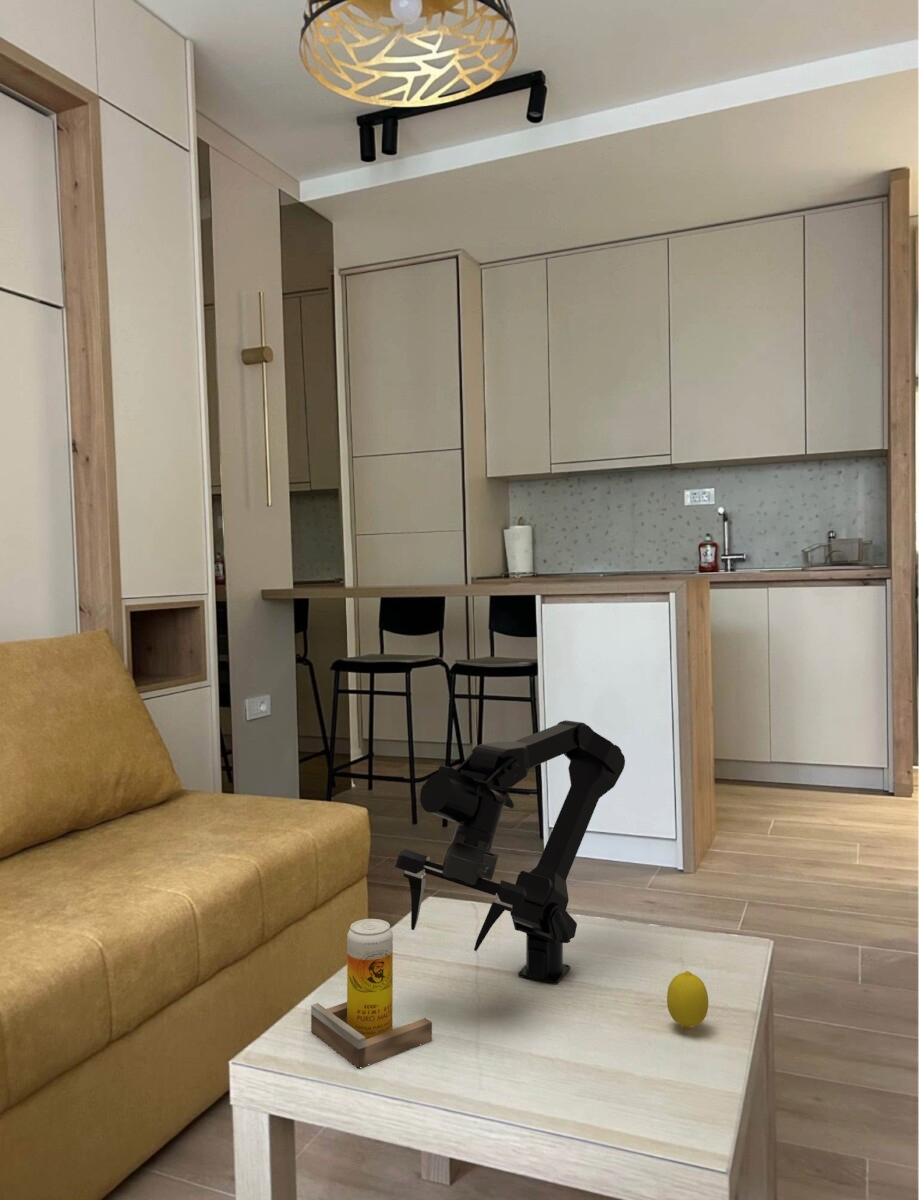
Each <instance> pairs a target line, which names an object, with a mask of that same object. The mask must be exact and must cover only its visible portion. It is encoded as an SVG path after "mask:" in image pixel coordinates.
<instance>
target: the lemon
mask: <svg viewBox="0 0 919 1200" xmlns="http://www.w3.org/2000/svg"><path fill="white" fill-rule="evenodd" d="M666 1006H667V1010H668V1012H669V1014H670V1015H669V1016H670V1017H671V1018H672V1020H673V1021H675V1023H676V1024H678V1025H680V1026H682V1027H683V1029H685V1030H686V1031H689V1030H691V1029H692V1028H693V1027H697V1026H699V1025H700V1024H702V1022H703V1021H704V1020H705V1019H706V1017H707V1014H708V1009H709V995H708V992H707V987H706V985H705V982H704V981H703V980H702V979H701V978H700V977H699V976H698V975H696V974H694V973H691V971H690V970H686V971H684V972H681V973H678V974H677V975H675V976H674V977H673V978H672V979H671V981H670V983H669V985H668V987H667V993H666Z"/></svg>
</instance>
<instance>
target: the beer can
mask: <svg viewBox="0 0 919 1200" xmlns="http://www.w3.org/2000/svg"><path fill="white" fill-rule="evenodd" d="M349 927H350V928H349V930H348V932H347V937H346V939H347V940H346V946H347V947H346V956H347V957H346V961H347V962H346V965H347V966H346V968H347V969H346V970H347V971H346V982H347V983H346V989H347V990H346V1002H347V1024H348V1025H349V1026H350V1027H352V1028H353V1029H354V1030H356V1031H357V1032H359V1033H360V1034H361V1035H363V1036H364V1037H365V1040H366V1039H369V1038H372V1037H374V1036H377V1035H380V1034H383V1033H385V1032H388V1031H391V1030H393V998H394V997H393V985H394V984H393V976H394V975H393V974H394V973H393V972H394V970H393V965H394V963H393V961H394V958H393V957H394V955H393V953H394V951H393V948H394V947H393V945H394V944H393V941H394V940H393V939H394V934H393V931H392V929H391V924H390V923H389V922H388V921H386V920H383V919H378V918H364V919H360V920H356V921H353V922H352V923H351V925H350V926H349Z"/></svg>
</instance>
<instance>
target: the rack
mask: <svg viewBox="0 0 919 1200" xmlns="http://www.w3.org/2000/svg"><path fill="white" fill-rule="evenodd" d="M310 1006H311V1007H310V1008H311V1009H310V1022H311V1023H310V1032H311V1033H312V1034H313V1035H314V1036H316V1037H317V1039H320V1040H321V1041H322V1042H323V1043H325V1044H326V1045H327V1046H329V1047H330V1048H331V1049H332V1050H333V1051H335V1052H336V1053H337V1054H339V1055H340V1056H341V1057H343V1058H344V1059H345V1060H346V1059H347V1062H349V1061H350V1062H351V1063H353V1064H354V1065H355V1066H356V1068H357V1067H358V1068H360V1067H363V1068H365V1067H367V1066H366V1065H368V1064H371V1065H373V1064H375V1062H376V1063H379V1062H380V1060H381V1061H383V1060H386V1059H389V1058H391V1057H393V1056H396V1055H398V1053H399V1054H401V1053H405V1052H406V1050H407V1051H410V1050H411V1049H410V1048H412V1049H414V1048H416V1047H415V1046H417V1047H419V1046H421V1045H420V1044H422V1045H424V1044H423V1043H425V1044H427V1043H429V1041H430V1042H431V1041H433V1022H432V1021H431V1020H429V1019H428V1018H426V1017H424V1018H422V1019H421V1018H420V1019H418V1020H416V1021H414V1022H413V1021H412V1022H411V1023H407V1024H405V1025H402V1026H400V1027H397V1028H394V1029H392V1030H391V1031H388V1032H385V1033H383V1034H380V1035H377V1036H374V1037H372V1038H369V1039H366V1040H365V1037H364V1036H363V1035H361V1034H360V1033H359V1032H357V1031H356V1030H354V1029H353V1028H352V1027H350V1026H349V1025H348V1024H347V1001H346V1002H343V1003H340V1004H337V1005H334V1006H331V1007H328V1008H326V1007H324V1006H323V1005H321V1004H320V1003H319V1002H317V1003H314V1004H311V1005H310ZM418 1045H419V1046H418ZM413 1047H414V1048H413ZM388 1057H389V1058H388ZM350 1062H349V1063H350ZM351 1063H350V1064H351ZM372 1063H373V1064H372ZM353 1064H352V1065H353ZM354 1065H353V1066H354ZM355 1066H354V1067H355ZM364 1066H365V1067H364ZM368 1066H369V1065H368ZM358 1068H357V1069H358ZM360 1069H361V1068H360Z"/></svg>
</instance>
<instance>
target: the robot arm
mask: <svg viewBox="0 0 919 1200" xmlns="http://www.w3.org/2000/svg"><path fill="white" fill-rule="evenodd" d="M563 755H564V756H565V757H566V758H567V759H568V760H569V761H570V762H569V765H568V774H569V775H568V776H569V780H570V781H569V782H570V787H569V789H568V792H567V794H566V796H565V799H564V802H563V804H562V806H561V808H560V811H559V812H558V813H559V814H558V816H557V818H556V821H555V823H554V824H553V827H552V830H551V832H550V834H549V837H548V840H547V842H546V844H545V846H544V849H543V851H542V853H541V856H540V858H539V860H538V863H537V865H536V866H535V867H534V868H533V869H531V870H530V871H526V870H521V871H520V872H519V874H518V876H517V878H516V881H515V883H511V882H508V881H505V880H502V879H501V880H500V881H499V882H500V883H499V882H498V883H497V882H494V881H492V879H493V877H494V874H495V870H496V866H497V864H498V859H499V854H497V853H495V852H494V853H493V852H491V851H492V848H493V844H494V841H495V838H496V837H495V836H496V833H497V830H498V828H499V827H498V826H499V823H500V820H501V816H502V813H503V809H504V808H507V809H511V810H513V808H514V807H515V804H514V802H513V800H512V798H511V797H510V793H509V790H506V789H510V788H511V789H512V788H513V787H515V786H516V785H517V784H520V782H522V781H523V780H524V779H526V778H527V776H528V774H529V772H530V771H531V769H533V768H534V767H536V766H539V765H540V764H544V763H546V762H548V761H550V760H553V759H554V758H558V757H560V756H563ZM625 765H626V757H625V756H624V753H623V752H622V749H621V748H620V746H618V745H617V744H614V743H613V742H612V741H611V740H609V739H608V738H606V737H604V736H602V735H601V734H599V733H597V732H596V731H594V730H593V729H592V727H591V726H589V725H588V724H587V723H585V722H580V721H573V720H567V719H566V720H565V719H564V720H562V721H559V722H558V723H557V724H555V725H553V726H550V727H548V728H545V729H543V730H540V731H538V732H535V733H532V734H530V735H528V736H524V737H522V738H520V739H517V740H513V741H504V742H503V741H499V742H498V741H497V742H495V741H493V742H486V743H481V744H478V745H476V746H475V747H474V748H473V749H472V751H471V754H469V756H468V757H467V758H466V759H465V760H464V761H462V763H460V764H459V765H458V766H457V767H456V768H453V767H451V766H447V765H443V764H442V765H439V767H438V770H437V772H436V773H434V774H432V775H431V776H430V777H429V778H428V779H427V780H426V781H425V783H424V784H422V786H421V789H420V796H419V801H420V805H421V807H422V809H423V810H424V811H425V812H426V813H429V814H432V815H434V816H437V817H440V818H441V819H442V818H443V819H445V820H447V821H451V822H453V823H457V824H456V827H455V831H454V834H453V836H452V837H453V838H452V841H451V844H450V846H449V847H448V848H447V850H446V853H445V856H444V857H445V858H444V860H443V864H438V863H435V862H432V861H430V860H431V857H430V856H429V855H428V856H427V855H424V854H422V853H419V852H416V851H415V852H414V851H412V850H409V849H407V848H406V849H403V850H401V851H400V853H399V854H398V857H397V860H396V863H395V866H394V868H397V869H399V870H403V871H404V872H402V877H403V878H405V879H408V884H409V889H410V899H411V905H410V909H411V910H410V911H411V912H410V913H411V914H410V919H411V921H410V924H411V925H410V929H411V930H412V931H415V930H416V926H417V923H418V921H419V916H420V910H421V905H422V901H423V897H424V891H425V887H426V882H427V879H426V878H424V876H426V874H427V875H430V876H433V877H436V878H439V879H442V880H445V881H449V882H452V883H454V884H458V885H461V886H464V887H467V888H470V889H473V890H477V891H479V892H483V893H485V894H488V895H492V896H494V899H495V901H492V903H491V904H490V905H491V906H490V908H489V910H488V912H487V915H486V917H485V919H484V922H483V923H482V924H483V925H482V926H481V929H480V932H479V933H478V936H477V939H476V941H475V945H474V948H473V951H475V952H477V951H478V950H479V947H480V946H481V944H482V943H483V941H484V940H485V938H486V936H487V935H488V933H489V931H490V930H491V929H492V927H493V925H494V924H495V923H496V922H497V920H498V919H499V918H500V916H501V915H502V914H503V913H504V912H505V911H507V912H510V916H511V920H512V924H513V926H514V930H515V931H517V932H518V931H520V932H521V933H524V934H526V937H525V938H526V942H525V943H526V944H525V946H526V949H525V950H526V951H525V955H526V957H525V960H526V961H525V965H524V966H523V967H522V968H521V969H520V970H519V971H518V974H517V975H518V976H519V977H522V978H526V979H531V980H535V981H541V982H546V983H550V984H555V985H556V984H558V983H559V982H560V981H561V980H562V979H563V978H564V976H565V975H567V973H568V972H569V971H570V969H571V965H569V964H566V963H564V962H563V961H564V960H563V959H564V957H563V956H564V955H563V954H564V948H563V947H564V944H568V943H570V942H571V939H574V938H575V936H576V931H577V927H578V923H577V922H576V920H575V919H574V918H573V917H572V916H571V915H570V914H569V912H567V907H568V904H569V893H568V887H567V879H568V875H569V874H570V871H571V869H572V865H574V862H575V859H576V856H577V854H578V852H579V849H580V847H581V844H582V841H583V839H584V837H585V834H586V833H587V829H588V827H589V825H590V821H591V819H592V817H593V814H594V813H595V810H596V807H597V805H598V803H599V800H600V798H601V797H603V796H604V795H605V794H607V793H608V792H609V791H611V790H612V789H613V788H615V786H616V784H617V783H618V780H619V778H620V776H621V775H622V774H623V771H624V769H625ZM502 788H503V789H502Z"/></svg>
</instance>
